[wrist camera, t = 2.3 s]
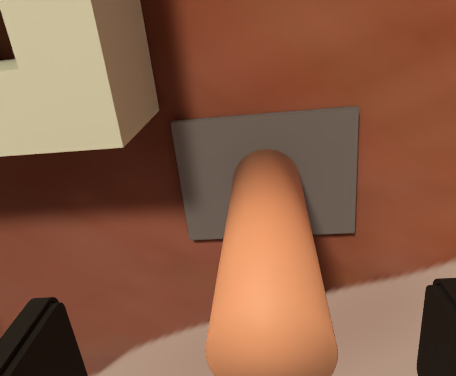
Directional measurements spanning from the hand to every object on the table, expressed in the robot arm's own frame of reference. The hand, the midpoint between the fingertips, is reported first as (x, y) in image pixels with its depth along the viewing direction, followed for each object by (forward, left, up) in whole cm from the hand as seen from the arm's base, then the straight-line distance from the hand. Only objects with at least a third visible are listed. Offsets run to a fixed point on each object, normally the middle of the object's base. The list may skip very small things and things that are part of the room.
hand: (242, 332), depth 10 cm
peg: (-1, 0, -9) cm, 9 cm away
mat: (-1, 0, -9) cm, 9 cm away
